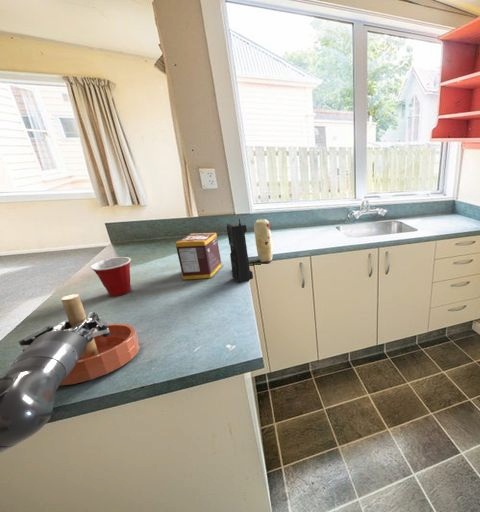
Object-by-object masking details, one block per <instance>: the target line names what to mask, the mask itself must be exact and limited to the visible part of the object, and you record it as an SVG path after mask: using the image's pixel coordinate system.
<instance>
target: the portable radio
mask: <svg viewBox="0 0 480 512" xmlns="http://www.w3.org/2000/svg"><path fill="white" fill-rule="evenodd" d="M226 231H227V239H228V245H229V247H230V253H229V257H230V264H231V266H230V267H231V277H232V278H233V279H234V280H235V281H237V283H244V282H248V281H250V280H252V279H254V275H253V274H254V273H253V271H252V270H251V268H250V261H249V255H248V247H247V240H246V233H247V232H248V230H247V225H246V224H245V223H242V222H241V218H238V222H233V223H232V222H231V223H230V222H229V223H227V224H226Z"/></svg>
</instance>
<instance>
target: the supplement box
mask: <svg viewBox="0 0 480 512" xmlns="http://www.w3.org/2000/svg"><path fill="white" fill-rule="evenodd" d="M174 245H175V248H176V253H177V256H178V262H179V266H180V271H181V275H182V279H183V280H185V281H186V280H196V279H211V278H212V277H213V276H214V275H215V274H216V273H217V272H218V271H219V270H220V268H221V267H222V266H223V265H222V264H223V263H222V260H221V254H220V248H219V241H218V235H217V232H203V233H202V232H201V233H200V232H199V233H189V234H188V235H186V236H184V237H183V238H181V239H179V240H177V241H176V242H175V244H174Z"/></svg>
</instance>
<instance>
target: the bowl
mask: <svg viewBox="0 0 480 512" xmlns="http://www.w3.org/2000/svg"><path fill="white" fill-rule="evenodd" d="M106 324H107V323H106ZM107 325H108V328H109V332H110V335H109V336H107V337H103V336H102V335H101V336H96V337H94V341H95V344H96V347H97V350H98V353H99V354H98V355H95V356H92V357H89V358H86V359H83V360H82V357H80V359H79V360H78V362H77V363H76V365H75V366H74V368H73V369H72V371H71V372H70V373H69V375H68V376H67V377H66V378H65V379H64V380H63V381H62V382H61V384H60V385H59V386H68V385H76V384H79V383H84V382H88V381H91V380H94V379H97V378H99V377H102V376H105V375H107V374H109V373H111V372H113V371H115V370H117V369H120V368H121V367H123V366H124V365H126V364H127V363H128V362H130V361H132V360H133V359H134V358H135V356H136V355H137V354H138V353H139V351H140V348H141V346H140V342H139V339H138V335H137V332H136V329H135V327H134V326H133V325H131V324H127V323H110V324H107ZM95 329H96V328H95ZM95 329H93V330H92V331H91V332H93V331H94V330H95Z"/></svg>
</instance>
